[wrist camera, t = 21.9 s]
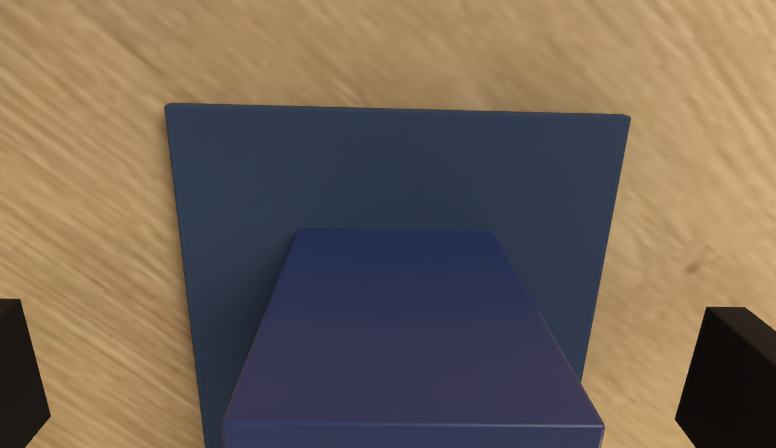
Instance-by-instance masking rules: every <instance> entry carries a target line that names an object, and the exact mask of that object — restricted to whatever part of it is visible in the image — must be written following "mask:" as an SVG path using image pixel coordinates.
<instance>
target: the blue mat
mask: <svg viewBox="0 0 776 448" xmlns="http://www.w3.org/2000/svg"><path fill="white" fill-rule="evenodd" d="M165 116H166V124H167V132H168V141H169V149H170V157H171V166H172V174H173V182H174V191H175V199H176V207H177V216H178V224H179V232H180V241H181V249H182V258H183V266H184V274H185V283H186V291H187V299H188V308H189V316H190V324H191V333H192V341H193V349H194V358H195V366H196V374H197V383H198V391H199V400H200V408H201V416H202V425H203V433H204V441H205V448H224V446H223V437H222V427H221V423H222V420H223V418H224V415H225V413H226V410H227V408H228V405H229V403H230V400H231V398H232V395H233V393H234V390H235V387H236V385H237V382H238V380H239V377H240V375H241V372H242V370H243V367H244V365H245V362H246V360H247V357H248V354H249V352H250V349H251V347H252V344H253V342H254V339H255V337H256V334H257V332H258V329H259V326H260V324H261V321H262V319H263V316H264V314H265V311H266V309H267V306H268V304H269V301H270V299H271V296H272V293H273V291H274V288H275V286H276V283H277V281H278V278H279V276H280V273H281V271H282V268H283V266H284V263H285V260H286V258H287V255H288V253H289V250H290V248H291V245H292V243H293V240H294V238H295V235H296V232H297V230H298V229H352V230H407V231H462V232H493V233H494V235H495V236H496V238H497V240H498V242H499V243H500V245H501V247H502V249H503V250H504V252H505V254H506V255H507V257H508V259H509V261H510V262H511V264H512V266H513V268H514V269H515V271H516V273H517V274H518V276H519V278H520V280H521V281H522V283H523V285H524V287H525V288H526V290H527V292H528V293H529V295H530V297H531V299H532V300H533V302H534V304H535V306H536V307H537V309H538V311H539V312H540V314H541V316H542V318H543V319H544V321H545V323H546V325H547V326H548V328H549V330H550V331H551V333H552V335H553V337H554V338H555V340H556V342H557V344H558V345H559V347H560V349H561V350H562V352H563V354H564V356H565V357H566V359H567V361H568V363H569V364H570V366H571V368H572V369H573V371H574V373H575V375H576V376H577V378H578V380H579V382H580V383H581V380H582V374H583V369H584V364H585V359H586V353H587V348H588V343H589V337H590V332H591V327H592V322H593V316H594V311H595V306H596V300H597V295H598V290H599V285H600V279H601V274H602V269H603V263H604V258H605V253H606V247H607V242H608V237H609V232H610V226H611V221H612V216H613V210H614V205H615V200H616V195H617V189H618V184H619V179H620V173H621V168H622V163H623V158H624V152H625V147H626V142H627V136H628V131H629V126H630V120H631V117H629V116H627V115H624V114H586V113H546V112H507V111H467V110H428V109H389V108H349V107H310V106H270V105H231V104H192V103H170V104H167V105H165Z"/></svg>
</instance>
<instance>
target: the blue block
mask: <svg viewBox="0 0 776 448" xmlns="http://www.w3.org/2000/svg"><path fill="white" fill-rule="evenodd" d="M221 427H222V437H223V446H224V448H601V444H602V439H603V435H604V430H605V426H604V423H603V421H602V420H601V418H600V416H599V414H598V413H597V411H596V409H595V407H594V406H593V404H592V402H591V401H590V399H589V397H588V395H587V394H586V392H585V390H584V388H583V387H582V385H581V383H580V382H579V380H578V378H577V376H576V375H575V373H574V371H573V369H572V368H571V366H570V364H569V363H568V361H567V359H566V357H565V356H564V354H563V352H562V350H561V349H560V347H559V345H558V344H557V342H556V340H555V338H554V337H553V335H552V333H551V331H550V330H549V328H548V326H547V325H546V323H545V321H544V319H543V318H542V316H541V314H540V312H539V311H538V309H537V307H536V306H535V304H534V302H533V300H532V299H531V297H530V295H529V293H528V292H527V290H526V288H525V287H524V285H523V283H522V281H521V280H520V278H519V276H518V274H517V273H516V271H515V269H514V268H513V266H512V264H511V262H510V261H509V259H508V257H507V255H506V254H505V252H504V250H503V249H502V247H501V245H500V243H499V242H498V240H497V238H496V236H495V235H494V233H493V232H462V231H407V230H352V229H298V230H297V232H296V235H295V238H294V240H293V243H292V245H291V248H290V250H289V253H288V255H287V258H286V260H285V263H284V266H283V268H282V271H281V273H280V276H279V278H278V281H277V283H276V286H275V288H274V291H273V293H272V296H271V299H270V301H269V304H268V306H267V309H266V311H265V314H264V316H263V319H262V321H261V324H260V326H259V329H258V332H257V334H256V337H255V339H254V342H253V344H252V347H251V349H250V352H249V354H248V357H247V360H246V362H245V365H244V367H243V370H242V372H241V375H240V377H239V380H238V382H237V385H236V387H235V390H234V393H233V395H232V398H231V400H230V403H229V405H228V408H227V410H226V413H225V415H224V418H223V420H222V423H221Z"/></svg>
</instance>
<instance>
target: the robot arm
mask: <svg viewBox="0 0 776 448" xmlns="http://www.w3.org/2000/svg"><path fill="white" fill-rule="evenodd" d="M50 417H51V415H50V411H49V407H48V403H47V399H46V396H45V392H44V388H43V384H42V380H41V377H40V373H39V369H38V365H37V361H36V358H35V354H34V350H33V346H32V342H31V339H30V335H29V331H28V327H27V323H26V320H25V316H24V312H23V308H22V304H21V301H20V299H0V448H25V447H26V446H27V444H28V443H29V442H30V441H31V440H32V438H33V437H34V436H35V435H36V434H37V432H38V431H39V430H40V429H41V427H42V426H43V425H44V424H45V423H46V421H47V420H48V419H49V418H50ZM675 420H676V422H677V423H678V424H679V426H680V427H681V428H682V430H683V431H684V432H685V434H686V435H687V436H688V438H689V439H690V441H691V442H692V443H693V445H694V446H695V447H696V448H776V331H775V330H774V329H772V328H771V327H770V326H768V325H767V324H766V323H765V322H763V321H762V320H761V319H759V318H758V317H757V316H756V315H754V314H753V313H752V312H750V311H749V310H748V309H747V308H745V307H706V310H705V314H704V318H703V321H702V325H701V328H700V332H699V335H698V339H697V342H696V346H695V349H694V353H693V357H692V360H691V364H690V367H689V371H688V374H687V378H686V381H685V385H684V389H683V392H682V396H681V399H680V403H679V406H678V410H677V413H676V417H675Z"/></svg>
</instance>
